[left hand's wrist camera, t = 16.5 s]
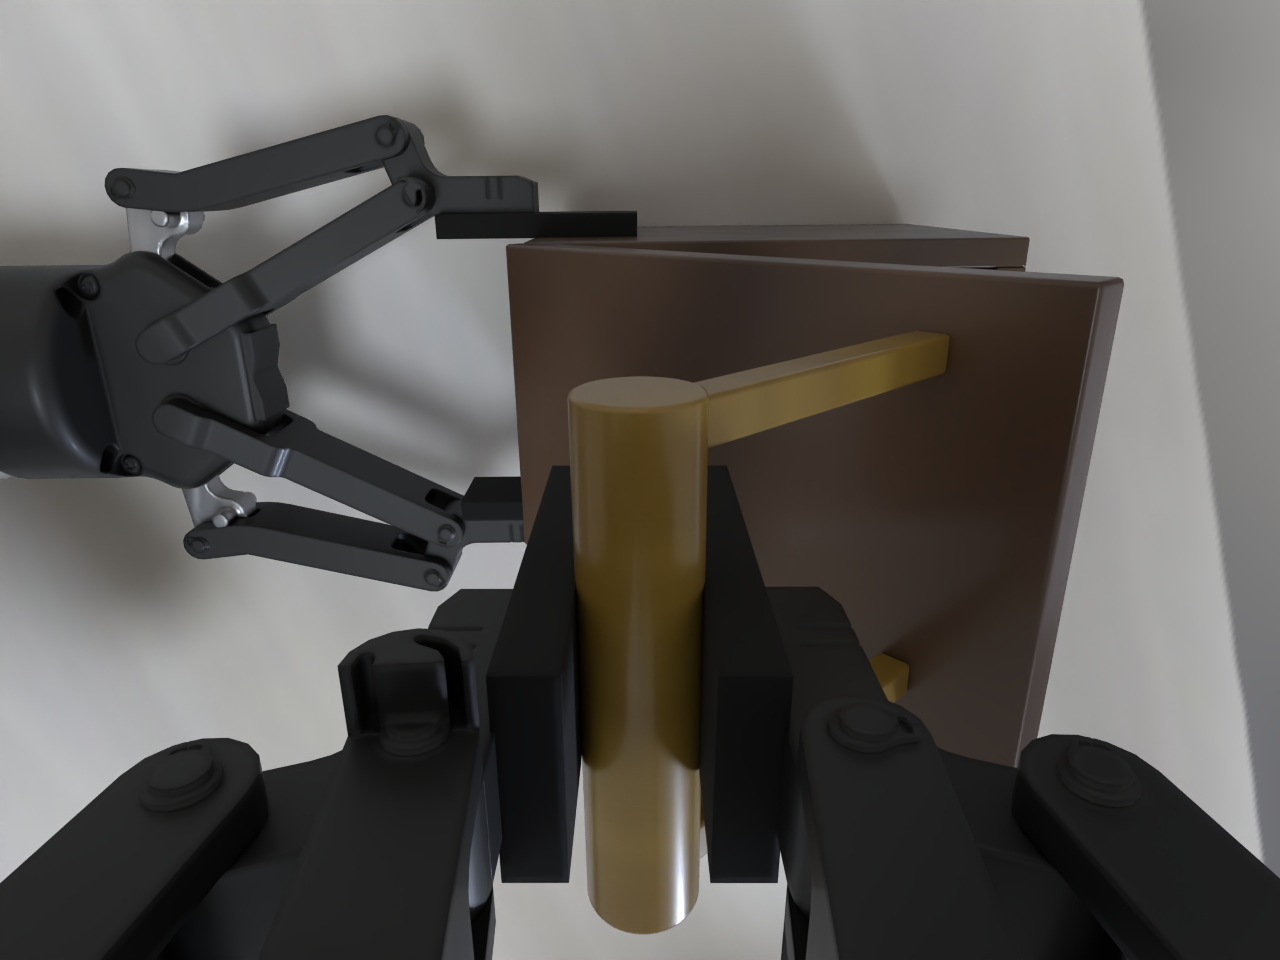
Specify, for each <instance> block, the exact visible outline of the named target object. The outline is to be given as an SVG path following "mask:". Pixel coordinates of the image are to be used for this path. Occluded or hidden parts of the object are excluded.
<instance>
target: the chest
mask: <svg viewBox="0 0 1280 960" xmlns="http://www.w3.org/2000/svg"><path fill="white" fill-rule="evenodd" d="M525 243H544V244H561V245H578V246H595V247H612V248H629V249H646V250H663V251H680V252H697V253H714V254H731V255H748V256H765V257H782V258H799V259H816V260H833V261H850V262H867V263H884V264H901V265H918V266H935V267H952V268H969V269H986V270H1003V271H1020V272H1025V268H1024V266H1025V265H1026V260H1027V253H1028V247H1029V238H1028V237H1021V236H1012V235H1003V234H994V233H985V232H975V231H966V230H957V229H948V228H939V227H930V226H921V225H912V224H863V225H763V226H663V227H637V236H627V237H537V238H534V239H532V240H530V241H527V242H525ZM525 243H524V244H525Z"/></svg>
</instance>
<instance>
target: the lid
mask: <svg viewBox="0 0 1280 960" xmlns="http://www.w3.org/2000/svg"><path fill="white" fill-rule="evenodd" d="M506 254H507V270H508V286H509V302H510V317H511V333H512V349H513V364H514V380H515V396H516V411H517V427H518V443H519V458H520V474H521V490H522V505H523V521H524V537H525V543H526V544H528V541H529V537H530V534H531V531H532V528H533V525H534V522H535V518H536V515H537V512H538V509H539V506H540V503H541V499H542V496H543V493H544V490H545V487H546V484H547V480H548V477H549V474H550V471H551V468H552V465H570V475H571V500H572V524H573V548H574V572H575V584H576V611H577V638H578V666H579V693H580V718H581V742H582V766H583V790H584V814H585V839H586V863H587V887H588V896H589V899H590V902H591V904H592V906H593V908H594V909H595V911H596V912H597V914H598V915H599V916H600V917H601V918H602V919H603V920H604V921H605V922H606V923H608V924H609V925H611V926H612V927H614V928H616V929H619V930H621V931H624V932H628V933H633V934H653V933H658V932H662V931H665V930H668V929H670V928H672V927H674V926H676V925H677V924H679V923H680V922H681V921H683V920H684V919H685V918H686V917H687V916H688V914H689V913H690V912H691V910H692V909H693V907H694V905H695V903H696V901H697V898H698V893H699V865H700V858H702V857H703V856H704V855H705V854H707V843H706V833H705V824H704V814H703V804H702V794H701V784H700V774H699V748H700V712H701V676H702V641H703V605H704V584H705V571H706V522H707V474H708V465H727V467H728V470H729V473H730V477H731V480H732V483H733V486H734V489H735V492H736V496H737V499H738V502H739V505H740V508H741V511H742V515H743V518H744V521H745V524H746V527H747V530H748V534H749V537H750V540H751V543H752V546H753V549H754V553H755V556H756V559H757V562H758V565H759V569H760V572H761V575H762V578H763V581H764V584H765V587H820V588H821V589H822V590H824V591H825V592H826V593H828V594H829V595H830V596H831V597H833V598H834V599H835V600H837V601H838V602H839V603H841V604H842V606H843V609H844V611H845V613H846V615H847V617H848V619H849V621H850V623H851V628H853V629H854V631H855V633H856V635H857V637H858V639H859V644H860V646H862V648H863V650H864V652H865V654H866V656H867V658H868V660H869V662H870V664H871V666H872V668H873V670H874V672H875V674H876V676H877V679H878V681H879V683H880V685H881V687H882V689H883V691H884V693H885V695H886V697H887V699H888V701H890V702H893V703H895V704H898V705H900V706H903V707H904V708H905V709H907V710H908V711H910V712H911V713H913V714H914V715H915V716H917V717H918V718H920V719H921V720H922V722H923V723H924V725H925V726H926V727H927V729H928V730H929V732H930V733H931V734H932V736H933V739H934V741H935V744H936V746H937V747H939V748H941V749H943V750H946V751H948V752H951V753H955V754H958V755H962V756H965V757H969V758H973V759H977V760H982V761H987V762H991V763H996V764H1001V765H1006V766H1010V767H1015V768H1018V764H1019V759H1020V754H1021V751H1022V750H1023V749H1024V748H1025V747H1026V746H1027V745H1028V744H1029V743H1030V742H1031V741H1032V740H1034V739H1037V736H1038V730H1039V725H1040V720H1041V715H1042V710H1043V704H1044V699H1045V694H1046V689H1047V683H1048V678H1049V673H1050V668H1051V663H1052V657H1053V652H1054V647H1055V642H1056V637H1057V631H1058V626H1059V621H1060V616H1061V610H1062V605H1063V600H1064V595H1065V590H1066V584H1067V579H1068V574H1069V569H1070V563H1071V558H1072V553H1073V548H1074V543H1075V537H1076V532H1077V527H1078V522H1079V516H1080V511H1081V506H1082V501H1083V496H1084V490H1085V485H1086V480H1087V475H1088V469H1089V464H1090V459H1091V454H1092V449H1093V443H1094V438H1095V433H1096V428H1097V423H1098V417H1099V412H1100V407H1101V402H1102V396H1103V391H1104V386H1105V381H1106V376H1107V370H1108V365H1109V360H1110V355H1111V349H1112V344H1113V339H1114V334H1115V329H1116V323H1117V318H1118V313H1119V308H1120V302H1121V297H1122V292H1123V287H1124V282H1123V279H1121V278H1119V277H1105V276H1088V275H1071V274H1054V273H1037V272H1020V271H1003V270H986V269H969V268H952V267H935V266H918V265H901V264H884V263H867V262H850V261H833V260H816V259H799V258H782V257H765V256H748V255H731V254H714V253H697V252H680V251H663V250H646V249H629V248H612V247H595V246H578V245H561V244H544V243H525V244H509V245H507V246H506Z"/></svg>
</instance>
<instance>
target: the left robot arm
mask: <svg viewBox="0 0 1280 960" xmlns="http://www.w3.org/2000/svg"><path fill="white" fill-rule="evenodd" d="M338 672H339V679H340V685H341V692H342V698H343V705H344V712H345V718H346V725H347V731H348V738H347V740H346V743H345V745H344V748H343V750H342V751H339V752H337V753H335V754H332V755H330V756H326V757H323V758H319V759H316V760H312V761H309V762H304V763H299V764H295V765H290V766H285V767H281V768H276V769H272V770H267V771H262V768H261V763H260V758H259V755H258V754H257V753H256V752H255V751H254V750H253V748H252V747H251V746H250V745H249V744H247V743H244V742H240V741H237V740H234V739H230V738H207V739H199V740H195V741H190V742H185V743H181V744H178V745H174V746H171V747H169V748H167V749H165V750H162V751H160V752H158V753H156V754H153V755H151V756H149V757H147V758H145V759H143V760H142V761H140V762H139V763H138V764H136V765H135V766H133V767H132V768H130V769H129V770H128V771H126V772H125V773H123V774H122V775H121V776H119V777H118V778H117V779H116V780H115V781H114V782H113V783H112V784H111V785H109V786H108V787H107V788H106V789H105V790H104V791H103V792H102V793H100V794H99V795H98V796H97V797H96V798H95V799H94V800H93V801H92V802H90V803H89V804H88V805H87V806H86V807H85V808H84V809H83V810H82V811H80V812H79V813H78V814H77V815H76V816H75V817H74V818H73V819H71V820H70V821H69V822H68V823H67V824H66V825H65V826H64V827H63V828H61V829H60V830H59V831H58V832H57V833H56V834H55V835H54V836H53V837H51V838H50V839H49V840H48V841H47V842H46V843H45V844H44V845H42V846H41V847H40V848H39V849H38V850H37V851H36V852H35V853H34V854H32V855H31V856H30V857H29V858H28V859H27V860H26V861H25V862H24V863H22V864H21V865H20V866H19V867H18V868H17V869H16V870H15V871H13V872H12V873H11V874H10V875H9V876H8V877H7V878H6V879H5V880H3V881H2V882H1V883H0V960H492V954H493V944H494V934H495V924H496V919H495V906H494V894H493V880H494V875H495V870H496V866H497V861H498V856H499V854H500V867H501V880H502V883H569V876H570V866H571V856H572V846H573V836H574V826H575V817H576V807H577V797H578V787H579V777H580V767H581V758H582V742H581V718H580V693H579V666H578V638H577V611H576V584H575V572H574V548H573V524H572V500H571V475H570V465H552V468H551V471H550V474H549V477H548V480H547V484H546V487H545V490H544V493H543V496H542V499H541V503H540V506H539V509H538V512H537V515H536V518H535V522H534V525H533V528H532V531H531V534H530V537H529V541H528V544H527V547H526V550H525V553H524V556H523V560H522V563H521V566H520V569H519V572H518V575H517V579H516V582H515V585H514V588H513V589H460V590H459V591H458V592H457V593H455V594H454V595H453V596H451V597H450V598H449V599H447V600H446V601H445V602H444V603H442V604H441V605H440V606H438V608H437V610H436V612H435V614H434V616H433V618H432V621H431V623H430V625H429V627H428V629H419V628H418V629H411V630H403V631H396V632H391V633H388V634H385V635H382V636H379V637H377V638H374V639H371V640H368V641H367V642H365V643H363V644H362V645H360V646H358V647H357V648H355V649H353V650H352V651H350V652H349V653H348V654H347V656H346V657H345V658H344V659H343V660H342V661H341V663H340V664H339V665H338ZM699 774H700V784H701V794H702V804H703V814H704V824H705V833H706V843H707V853H708V863H709V873H710V883H778V871H779V858H780V851H781V856H782V860H783V865H784V870H785V874H786V879H787V894H786V906H785V919H784V931H783V943H782V955H781V960H1280V878H1279V877H1278V876H1276V875H1275V874H1274V873H1273V872H1272V871H1271V870H1270V869H1269V868H1267V867H1266V866H1265V865H1264V864H1263V863H1262V862H1261V861H1260V860H1258V859H1257V858H1256V857H1255V856H1254V855H1253V854H1252V853H1251V852H1249V851H1248V850H1247V849H1246V848H1245V847H1244V846H1243V845H1242V844H1240V843H1239V842H1238V841H1237V840H1236V839H1235V838H1234V837H1233V836H1231V835H1230V834H1229V833H1228V832H1227V831H1226V830H1225V829H1224V828H1222V827H1221V826H1220V825H1219V824H1218V823H1217V822H1216V821H1215V820H1213V819H1212V818H1211V817H1210V816H1209V815H1208V814H1207V813H1206V812H1204V811H1203V810H1202V809H1201V808H1200V807H1199V806H1198V805H1197V804H1195V803H1194V802H1193V801H1192V800H1191V799H1190V798H1189V797H1188V796H1186V795H1185V794H1184V793H1183V792H1182V791H1181V790H1180V789H1179V788H1177V787H1176V786H1175V785H1174V784H1173V783H1172V782H1171V781H1170V780H1168V779H1167V778H1166V777H1165V776H1164V775H1163V774H1162V773H1161V772H1159V771H1158V770H1157V769H1155V768H1154V767H1152V766H1151V765H1149V764H1148V763H1147V762H1145V761H1144V760H1142V759H1141V758H1139V757H1138V756H1137V755H1135V754H1133V753H1131V752H1128V751H1126V750H1124V749H1122V748H1119V747H1117V746H1115V745H1112V744H1110V743H1108V742H1105V741H1101V740H1098V739H1095V738H1094V739H1092V738H1090V737H1084V736H1080V735H1058V734H1051V735H1048V736H1044V737H1041V738H1037V739H1034V740H1032V741H1031V742H1030V743H1029V744H1028V745H1027V746H1026V747H1025V748H1024V749H1023V750H1022V751H1021V754H1020V759H1019V764H1018V768H1015V767H1010V766H1006V765H1001V764H996V763H991V762H987V761H982V760H977V759H973V758H969V757H965V756H962V755H958V754H955V753H951V752H948V751H946V750H943V749H941V748H939V747H937V746H936V744H935V741H934V739H933V736H932V734H931V733H930V732H929V730H928V729H927V727H926V726H925V725H924V723H923V722H922V720H921V719H920V718H918V717H917V716H915V715H914V714H913V713H911V712H910V711H908V710H907V709H905V708H904V707H903V706H900V705H898V704H895V703H893V702H890V701H888V699H887V697H886V695H885V693H884V691H883V689H882V687H881V685H880V683H879V681H878V679H877V676H876V674H875V672H874V670H873V668H872V666H871V664H870V662H869V660H868V658H867V656H866V654H865V652H864V650H863V648H862V646H860V644H859V639H858V637H857V635H856V633H855V631H854V629H853V628H851V623H850V621H849V619H848V617H847V615H846V613H845V611H844V609H843V606H842V604H841V603H839V602H838V601H837V600H835V599H834V598H833V597H831V596H830V595H829V594H828V593H826V592H825V591H824V590H822V589H821V588H820V587H765V584H764V581H763V578H762V575H761V572H760V569H759V565H758V562H757V559H756V556H755V553H754V549H753V546H752V543H751V540H750V537H749V534H748V530H747V527H746V524H745V521H744V518H743V515H742V511H741V508H740V505H739V502H738V499H737V496H736V492H735V489H734V486H733V483H732V480H731V477H730V473H729V470H728V467H727V465H708V474H707V522H706V571H705V584H704V605H703V641H702V676H701V712H700V748H699Z"/></svg>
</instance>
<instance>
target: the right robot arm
mask: <svg viewBox="0 0 1280 960" xmlns="http://www.w3.org/2000/svg"><path fill="white" fill-rule="evenodd" d="M383 167H384V168H385V170H386V172H387V174H388V176H389V179H390V181H391V183H392V185H391V186H390V187H388V188H386V189H385V190H383V191H381V192H380V193H378V194H376V195H375V196H373V197H371V198H370V199H368V200H366V201H365V202H363V203H361V204H360V205H358V206H356V207H355V208H353V209H351V210H350V211H348V212H346V213H345V214H343V215H341V216H340V217H338V218H336V219H335V220H333V221H331V222H330V223H328V224H326V225H325V226H323V227H321V228H320V229H318V230H316V231H315V232H313V233H311V234H310V235H308V236H306V237H305V238H303V239H301V240H300V241H298V242H296V243H294V244H293V245H291V246H289V247H288V248H286V249H284V250H283V251H281V252H279V253H278V254H276V255H274V256H273V257H271V258H269V259H268V260H266V261H264V262H263V263H261V264H259V265H258V266H256V267H254V268H253V269H251V270H249V271H247V272H245V273H243V274H241V275H239V276H236V277H234V278H232V279H230V280H228V281H226V282H225V283H222V282H220V281H218V280H217V279H215V278H214V277H212V276H211V275H209V274H208V273H206V272H204V271H203V270H201V269H200V268H198V267H197V266H195V265H194V264H192V263H191V262H189V261H187V260H186V259H184V258H183V257H181V256H180V255H178V254H176V253H175V246H176V243H177V241H178V240H179V239H180V238H181V237H183V236H185V235H190V234H195V233H196V232H198V231H199V230H200V229H201V227H202V225H203V222H204V219H205V215H204V212H203V211H220V210H230V209H235V208H239V207H243V206H247V205H250V204H254V203H258V202H261V201H265V200H268V199H272V198H275V197H279V196H283V195H286V194H290V193H293V192H297V191H301V190H304V189H308V188H311V187H315V186H318V185H322V184H326V183H329V182H333V181H336V180H340V179H344V178H347V177H351V176H354V175H358V174H361V173H365V172H369V171H372V170H376V169H379V168H383ZM105 189H106V192H107V194H108V196H109V197H110V199H111V200H112V201H113V202H114V203H116V204H117V205H119V206H122V207H125V208H126V212H127V221H128V230H129V239H130V248H131V252H130V253H128V254H125V255H124V256H122V257H120V258H119V259H118V260H116V261H115V262H113V263H111V264H109V265H67V266H0V479H7V478H10V477H13V476H15V477H19V478H28V479H39V478H119V477H136V476H145V477H150V478H154V479H158V480H160V481H163V482H165V483H167V484H169V485H171V486H174V487H177V488H182V490H183V493H184V496H185V499H186V502H187V505H188V508H189V511H190V514H191V517H192V520H193V523H194V527H195V528H193V529H192V530H191V531H189V532H188V533H187V534H186V535H185V537H184V540H183V542H184V547H185V549H186V551H187V552H188V553H189V554H190V555H191V556H193V557H195V558H198V559H211V558H220V557H229V556H237V555H246V554H249V555H254V556H259V557H264V558H269V559H274V560H279V561H284V562H289V563H294V564H299V565H304V566H309V567H314V568H319V569H324V570H329V571H334V572H338V573H343V574H348V575H353V576H358V577H363V578H368V579H373V580H378V581H383V582H388V583H393V584H398V585H403V586H408V587H413V588H418V589H423V590H428V591H440V590H443V589H444V588H445V587H446V586H447V585H448V583H449V580H450V578H451V576H452V574H453V572H454V570H455V568H456V566H457V564H458V562H459V559H460V557H461V555H462V549H463V547H465V546H466V545H468V544H471V543H495V542H525V537H524V521H523V505H522V490H521V477H475V478H474V479H473V481H472V483H471V485H470V487H469V488H468V490H467V492H466V494H465V495H464V496H463V495H461V494H459V493H456V492H454V491H452V490H450V489H448V488H445V487H443V486H441V485H439V484H437V483H434V482H432V481H430V480H428V479H426V478H423V477H421V476H419V475H417V474H415V473H412V472H410V471H408V470H406V469H404V468H401V467H399V466H397V465H395V464H392V463H390V462H388V461H386V460H384V459H381V458H379V457H377V456H375V455H373V454H370V453H368V452H366V451H364V450H362V449H359V448H357V447H355V446H353V445H351V444H348V443H346V442H344V441H342V440H340V439H337V438H335V437H333V436H331V435H329V434H326V433H324V432H322V431H320V430H318V429H317V427H316V425H315V424H314V423H313V422H312V421H310V420H308V419H306V418H304V417H302V416H299V415H297V414H295V413H293V412H291V411H288V410H286V408H288V407H289V400H288V394H287V388H286V385H285V383H284V380H283V378H282V376H281V373H280V371H279V369H278V365H277V364H278V354H279V338H278V332H277V326H276V324H270V323H269V321H268V319H267V317H266V316H267V315H268V314H270V313H272V312H274V311H275V310H277V309H279V308H280V307H282V306H284V305H285V304H287V303H289V302H291V301H292V300H294V299H295V298H296V297H297V296H298V295H300V294H302V293H303V292H305V291H307V290H309V289H310V288H312V287H314V286H315V285H317V284H319V283H320V282H322V281H324V280H326V279H327V278H329V277H331V276H332V275H334V274H336V273H338V272H339V271H341V270H343V269H344V268H346V267H348V266H349V265H351V264H353V263H355V262H356V261H358V260H360V259H361V258H363V257H365V256H367V255H368V254H370V253H372V252H373V251H375V250H377V249H378V248H380V247H382V246H384V245H385V244H387V243H389V242H390V241H392V240H394V239H396V238H397V237H399V236H401V235H402V234H404V233H406V232H408V231H409V230H411V229H413V228H414V227H416V226H418V225H419V224H421V223H423V222H425V221H426V220H428V219H430V218H431V217H433V216H435V224H436V235H437V239H489V238H537V237H627V236H637V211H582V212H539V199H538V183H537V182H535V181H532V180H530V179H527V178H525V177H522V176H446V175H443V174H442V173H440V172H439V171H438V170H437V169H436V168H435V167H434V165H433V164H432V162H431V160H430V157H429V155H428V153H427V150H426V148H425V146H424V136H423V134H422V132H421V130H420V129H419V128H418V127H417V126H416V125H415V124H412V123H409V122H407V121H404V120H401V119H398V118H394V117H391V116H388V115H382V116H377V117H373V118H370V119H366V120H363V121H359V122H355V123H352V124H348V125H345V126H341V127H338V128H334V129H331V130H327V131H324V132H320V133H317V134H313V135H310V136H306V137H303V138H299V139H296V140H292V141H289V142H285V143H282V144H278V145H275V146H271V147H268V148H264V149H261V150H257V151H254V152H250V153H246V154H243V155H239V156H236V157H232V158H229V159H225V160H222V161H218V162H215V163H211V164H208V165H204V166H201V167H197V168H194V169H190V170H187V171H183V172H177V171H167V170H151V169H132V168H117V169H113V170H112V171H110V172H109V173H108V175H107V176H106V178H105ZM234 463H235V464H237V465H240V466H242V467H244V468H247V469H249V470H251V471H253V472H256V473H258V474H260V475H263V476H267V477H283V478H286V479H288V480H290V481H293V482H295V483H297V484H300V485H302V486H304V487H306V488H309V489H311V490H313V491H315V492H318V493H320V494H322V495H324V496H327V497H329V498H331V499H334V500H336V501H338V502H340V503H343V504H345V505H347V506H349V507H352V508H354V509H356V510H359V511H361V512H363V513H365V514H368V515H370V516H372V517H374V518H377V519H379V520H381V521H383V522H386V523H388V524H390V525H387V524H383V523H378V522H373V521H368V520H363V519H359V518H354V517H349V516H344V515H339V514H335V513H330V512H325V511H320V510H315V509H311V508H306V507H301V506H296V505H291V504H285V503H279V502H256V497H255V495H254V494H253V493H251V492H243V491H235V490H232V489H229V488H227V487H226V486H225V485H224V484H223V483H222V482H221V480H220V478H219V475H220V474H221V473H222V472H224V471H225V470H226V469H227V468H229V467H230V466H231V465H232V464H234ZM392 525H393V526H392Z"/></svg>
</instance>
